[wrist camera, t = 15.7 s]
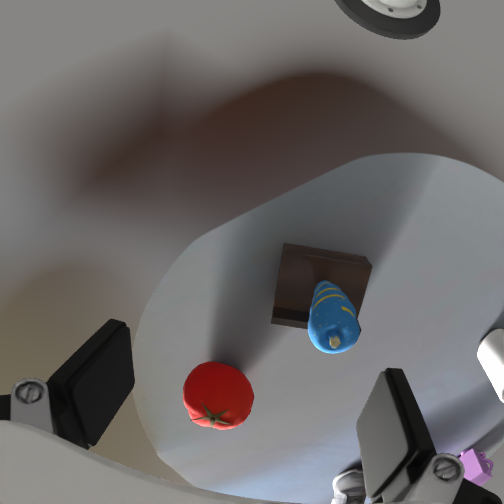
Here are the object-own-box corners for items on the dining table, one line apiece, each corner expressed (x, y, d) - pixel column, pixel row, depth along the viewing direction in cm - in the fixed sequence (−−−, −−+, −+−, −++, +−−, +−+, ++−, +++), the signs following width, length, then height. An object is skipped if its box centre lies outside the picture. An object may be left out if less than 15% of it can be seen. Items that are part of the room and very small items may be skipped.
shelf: (284, 242, 43) (282, 258, 36) (365, 256, 42) (378, 273, 35) (273, 300, 45) (270, 323, 39) (350, 312, 45) (359, 336, 38)
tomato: (180, 369, 52) (158, 410, 41) (222, 337, 48) (205, 380, 38) (227, 407, 53) (215, 450, 43) (271, 381, 50) (265, 427, 39)
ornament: (348, 291, 39) (373, 356, 25) (313, 306, 41) (321, 377, 26) (333, 258, 38) (355, 312, 24) (297, 274, 40) (300, 336, 25)
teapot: (477, 438, 51) (492, 470, 39) (488, 446, 51) (501, 475, 39) (419, 479, 56) (428, 512, 44) (434, 484, 57) (442, 514, 45)
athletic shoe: (381, 459, 54) (388, 498, 43) (353, 503, 62) (356, 534, 50) (340, 461, 55) (343, 502, 44) (320, 505, 63) (320, 537, 51)
